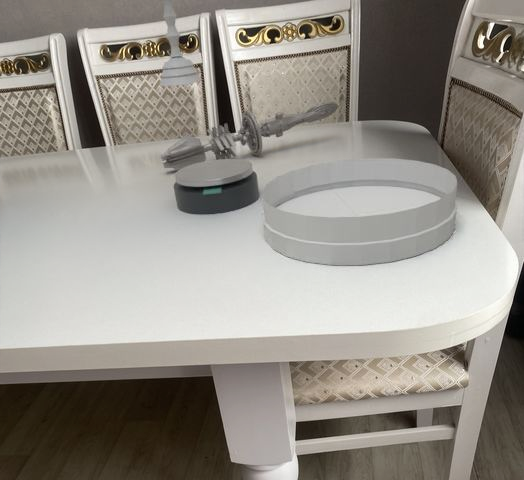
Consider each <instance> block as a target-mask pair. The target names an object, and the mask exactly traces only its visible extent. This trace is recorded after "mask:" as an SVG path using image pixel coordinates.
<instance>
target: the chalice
mask: <svg viewBox="0 0 524 480" xmlns="http://www.w3.org/2000/svg"><path fill="white" fill-rule="evenodd" d="M162 3H163V15H162V18H163V19H164V21H165V24H166V26H167V33H166V35H165V36H164V37H165V38H166V39H167V40H168V42H169V45H170V56H169V58H170V59H168V61H165V62H164V64H163V66H162V72H161V75H160V76H161V80H160V82H159V86H160V87H176V86H183V85H189V84H190V85H191V84H195V83H199V82H202V78H201V77H200V75H199V74H198V70H197V68H196V67H195V65H194V63H193V61H192V60H191V59H187V58H185V57H184V56H183V54H182V53H181V50H180V47H179V42H180V41H179V39H180V37H181V34H180V32H179V31H178V29H177V27H176V20H177V17H178V15H177V14H176V12H175V9H174V6H173V4H172V3H173V2H172V0H162Z"/></svg>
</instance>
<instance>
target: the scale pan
mask: <svg viewBox="0 0 524 480" xmlns="http://www.w3.org/2000/svg"><path fill="white" fill-rule="evenodd" d="M253 171H254V169H253V164H252V162H250V160H246V159H239V158H230V159H228V158H225V159H220V160H216V159H212V160H205V161H204V162H200V163H196V164H192V165H189V166H186V167H184V168H182V169H177V171H176V172H175V173H174V179H175V182H177V183H178V184H180V185H184V186H191V187H206V186H215V185H222V184H227V183H231V182H235V181H238V180H241V179H243V178H245V177H247V176H249V175H250V174H251V173H252V172H253Z"/></svg>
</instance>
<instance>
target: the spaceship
mask: <svg viewBox="0 0 524 480" xmlns="http://www.w3.org/2000/svg"><path fill="white" fill-rule="evenodd" d="M338 109H339V104H338V103H337V102H334V101H327V102H323V103H320V104H316V105H313V106H311V107H308V108H307V109H306V110H305V111H302V112H298V113H284V114H283V112H282V111H279V112H276V113H275V115H274V117H272V118H269V119H265V120H263V121H262V122H260V124H258V121H257V119H256V117H255V115H254V114H253V113H252V111H250V110H249V109H245V110H244V111H243V112H242V115H241V127H240V128H239V130H238V131H237V134H235V135H232V134H231V132H230V131H229V126H228V125H229V124H228V123H227V122H226V123H223V126H222V125H221V124H220V125H217V127H216V126H213V127H211V129H210V128H209V129H206V131H207V132H208V134H209V135H210V136H211V137H210V138H211V139H208V140H207V141H208V143H205V144H203V143H202V141H201V139H200V138H197V137H193V136H191V135H185V136H184V137H183V138H181V139H180V140H178V141H177V142H175V143H174V144H173V145H171V146H170V147H169V148H167V150H166V151H164V153H162V154H160V156H159V157H160V160H161V161H162V163H161V165H163V169H174V170H180V169H182V168H184V167H186V166H189V165H192V164H196V163H200V162H205V161H207V156H206V153H207V152H210V151H211V152H212V153H213V155H214V156H215V160H220V159H232V157H234V158H236V157H238V155H237V154H236V153H235V151H233V150H232V147H236V146H237V145H236V142H240V144H241V146H243V147H245V146H246V145H247V147H248V149H249V150H250V151H251V153H252V154H253V155H254V156H260V155H262V152H263V138H270V137H271V136H274V135H275V137H276V138H281V137H283V135H284V132H286V131H289V130H290V129H293V128H294V127H296V126H298V125H302V124H305V123H309V124H310V123H314V122H316V121H317V122H318V121H321V120H324V119H326V118H328V117H330V116H331V115H333V114H334V113H336V111H338ZM262 137H263V138H262ZM163 161H164V162H163Z"/></svg>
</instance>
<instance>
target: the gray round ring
mask: <svg viewBox="0 0 524 480" xmlns="http://www.w3.org/2000/svg"><path fill="white" fill-rule="evenodd" d="M457 192H458V180H457V175H455V174H454V173H453V172H452V171H450V170H449V169H448V168H445V167H442V166H440V165H437V164H433V163H429V162H424V161H420V160H415V159H414V160H413V159H405V158H387V157H386V158H385V157H384V158H381V157H379V158H378V157H373V158H372V157H371V158H354V159H346V160H345V159H344V160H336V161H329V162H323V163H318V164H317V163H316V164H312V165H309V166H305V167H301V168H298V169H294V170H291V171H289V172H286V173H284V174H281V175H279V176H276V177H275V178H274V179H272V180H270V181H269V182H268V183H266V184H265V186H264V187H263V188H262V190H261V200H262V208H263V213H262V214H261V217H262V225H263V231H264V240H265V242H266V243H267V244H268V245H269V247H270V248H271V249H272V250H273V251H275V252H277V253H279V254H281V255H283V256H285V257H287V258H291V259H294V260H298V261H302V262H305V263H309V264H319V265H327V266H328V265H329V266H366V265H376V264H387V263H393V262H396V261H401V260H405V259H409V258H415V257H417V256H420V255H422V254H425V253H427V252H430V251H431V250H434V249H437V248H438V247H440V246H441V245H442V244H444V243H445V242H447V241H448V240H450V239H451V237H452V235H453V234H454V232H455V229H456V222H457V220H456V219H457V211H458V206H457V202H456V201H457V199H456V198H457Z"/></svg>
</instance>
